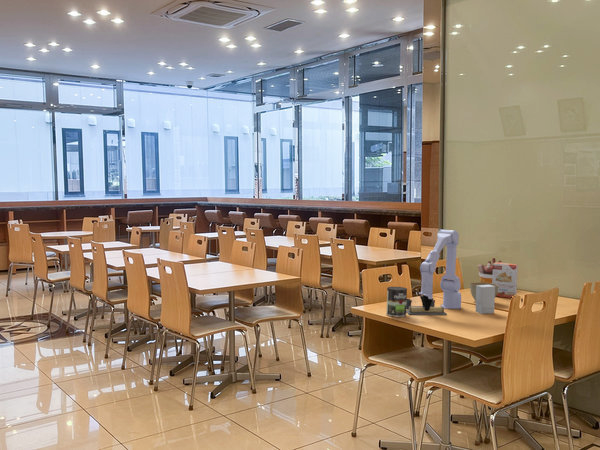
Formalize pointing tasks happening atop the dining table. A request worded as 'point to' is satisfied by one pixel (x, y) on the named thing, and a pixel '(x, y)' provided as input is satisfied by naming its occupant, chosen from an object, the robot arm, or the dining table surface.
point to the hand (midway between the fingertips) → (426, 310)
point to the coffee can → (396, 301)
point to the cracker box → (505, 279)
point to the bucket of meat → (486, 272)
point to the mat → (425, 313)
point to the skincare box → (485, 299)
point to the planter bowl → (473, 285)
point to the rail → (422, 309)
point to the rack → (408, 303)
